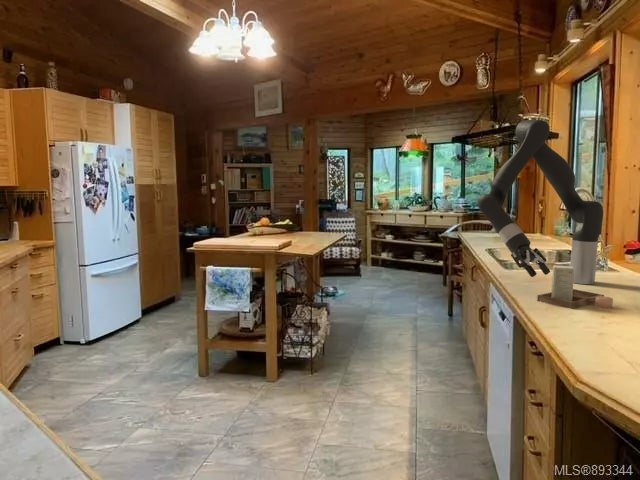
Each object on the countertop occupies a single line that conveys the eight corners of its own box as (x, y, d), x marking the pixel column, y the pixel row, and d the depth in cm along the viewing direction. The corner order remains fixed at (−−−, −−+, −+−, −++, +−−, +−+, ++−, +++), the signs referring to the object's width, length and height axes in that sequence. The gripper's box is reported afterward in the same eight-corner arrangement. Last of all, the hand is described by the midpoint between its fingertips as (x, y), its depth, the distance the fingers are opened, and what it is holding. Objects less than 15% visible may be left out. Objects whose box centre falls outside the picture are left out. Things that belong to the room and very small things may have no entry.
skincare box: (570, 301, 169) (573, 266, 168) (572, 304, 165) (575, 268, 164) (550, 299, 171) (552, 264, 170) (551, 302, 167) (554, 266, 166)
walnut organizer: (569, 293, 182) (569, 288, 182) (603, 300, 172) (604, 294, 172) (537, 300, 170) (537, 295, 170) (571, 308, 161) (572, 302, 160)
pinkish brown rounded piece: (599, 304, 168) (600, 295, 167) (614, 307, 164) (615, 298, 163) (591, 306, 165) (592, 297, 165) (607, 309, 161) (608, 300, 160)
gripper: (509, 233, 175) (537, 270, 167) (532, 231, 183) (560, 266, 175) (495, 246, 180) (522, 282, 172) (518, 243, 188) (544, 278, 180)
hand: (541, 274), depth 174 cm, fingers open, 8 cm apart
